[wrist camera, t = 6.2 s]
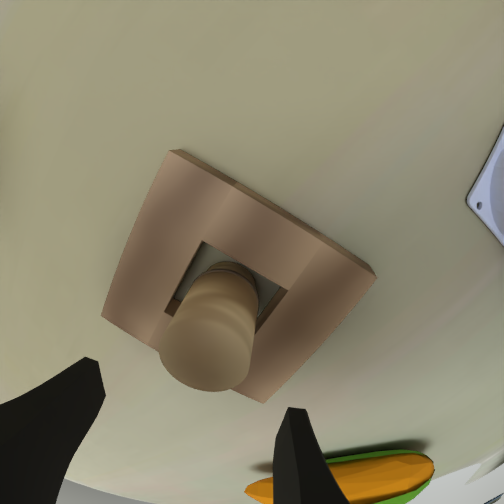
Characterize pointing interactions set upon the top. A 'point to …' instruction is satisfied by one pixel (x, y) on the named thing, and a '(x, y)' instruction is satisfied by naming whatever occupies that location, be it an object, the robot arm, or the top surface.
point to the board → (244, 251)
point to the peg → (213, 330)
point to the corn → (369, 477)
